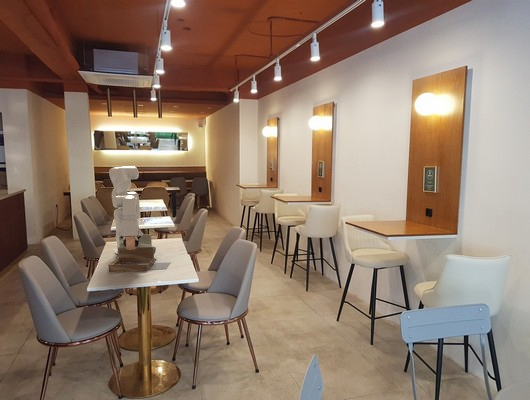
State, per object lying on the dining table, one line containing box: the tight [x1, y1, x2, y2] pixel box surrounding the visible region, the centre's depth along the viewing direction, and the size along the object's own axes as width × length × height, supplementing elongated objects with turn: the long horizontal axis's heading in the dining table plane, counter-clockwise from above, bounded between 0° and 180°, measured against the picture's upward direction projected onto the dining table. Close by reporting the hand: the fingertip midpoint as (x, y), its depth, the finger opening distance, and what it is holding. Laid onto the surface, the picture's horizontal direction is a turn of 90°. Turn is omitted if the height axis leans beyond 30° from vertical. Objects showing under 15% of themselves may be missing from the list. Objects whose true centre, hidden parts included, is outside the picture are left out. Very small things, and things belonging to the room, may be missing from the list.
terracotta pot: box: [125, 236, 136, 250], centre depth 241 cm, size 7×7×8 cm
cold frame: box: [107, 234, 155, 273], centre depth 241 cm, size 19×22×18 cm
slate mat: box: [148, 262, 172, 271], centre depth 243 cm, size 14×10×1 cm
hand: (131, 245), depth 241 cm, fingers closed on terracotta pot, 6 cm apart
